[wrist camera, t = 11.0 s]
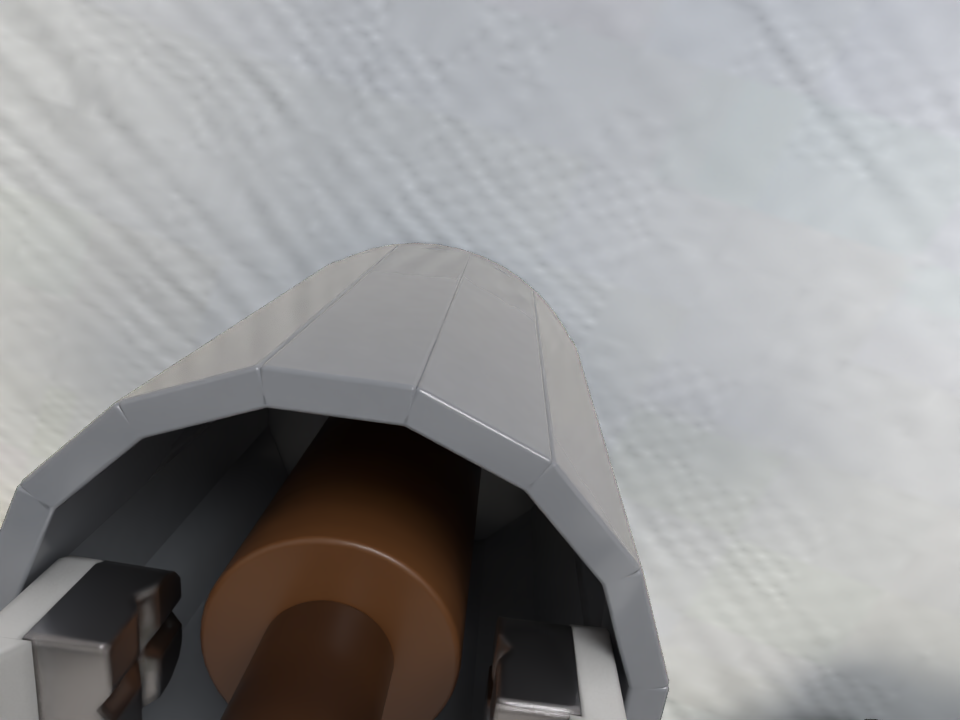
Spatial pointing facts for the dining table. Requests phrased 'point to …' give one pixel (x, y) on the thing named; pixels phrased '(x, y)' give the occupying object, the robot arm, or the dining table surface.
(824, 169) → the dining table surface
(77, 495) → the steel cup
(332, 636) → the brown bottle
